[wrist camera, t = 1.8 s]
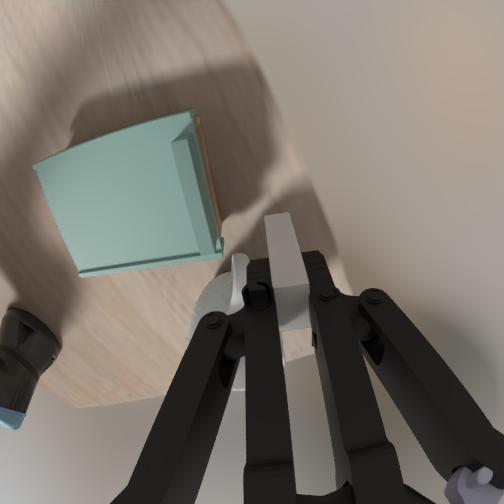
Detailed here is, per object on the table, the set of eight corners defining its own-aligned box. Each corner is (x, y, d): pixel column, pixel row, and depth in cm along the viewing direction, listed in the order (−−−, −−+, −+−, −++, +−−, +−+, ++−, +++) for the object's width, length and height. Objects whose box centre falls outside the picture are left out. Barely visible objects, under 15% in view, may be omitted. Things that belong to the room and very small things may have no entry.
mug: (196, 227, 35) (177, 300, 24) (286, 234, 36) (304, 308, 25) (197, 314, 43) (186, 388, 32) (269, 319, 44) (276, 392, 33)
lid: (89, 262, 34) (73, 289, 30) (47, 156, 26) (20, 173, 21) (224, 241, 33) (221, 270, 28) (195, 108, 25) (184, 114, 20)
